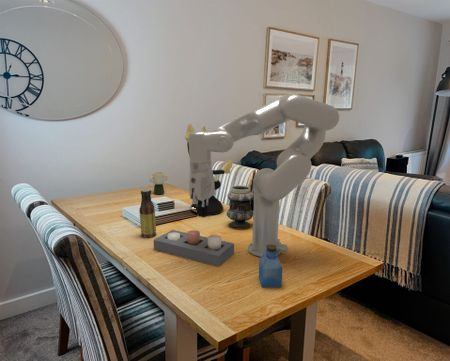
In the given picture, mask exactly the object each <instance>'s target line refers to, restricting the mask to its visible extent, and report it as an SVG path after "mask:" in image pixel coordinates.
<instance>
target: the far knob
mask: <svg viewBox="0 0 450 361" xmlns="http://www.w3.org/2000/svg"><path fill="white" fill-rule="evenodd" d="M167 238H168V239H169V240H174V241H176V240H178V239H180V234H179V233H176V232H172V233H169V234H168V235H167Z"/></svg>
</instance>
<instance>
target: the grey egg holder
mask: <svg viewBox="0 0 450 361" xmlns="http://www.w3.org/2000/svg"><path fill="white" fill-rule="evenodd" d="M172 232H176V233H179V234H180V239H178V240H176V241H174V240H169V239H168V238H167V235H168V234H169V233H172ZM153 250H154V251H156V252H161V253H164V254H168V255H172V256H177V257H181V258H184V259H188V260H191V261H196V262H200V263H203V264H207V265H211V266H215V267H218V268H219V267H220V266H221V265H222V264H223V263H225V262H226V261H227V260H228V259H229V258H230V257H232V256H233V255H234V254H235V243H234V242H229V241H225V240H221V249H219V250H218V251H215V250H211V249H208V237H207V236H202V235H200V243H199V244H198V245H196V246H195V245H190V244H187V232H184V231H180V230H175V229H172V230H170V231H167V232H165V233H163V234H162V235H160V236H158V237H156V238H155V239H153Z"/></svg>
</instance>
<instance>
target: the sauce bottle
mask: <svg viewBox="0 0 450 361" xmlns="http://www.w3.org/2000/svg"><path fill="white" fill-rule="evenodd" d="M140 194H141V201H140V202H141V203H140V206H139V211H138V213H139V220H140V221H139V224H140V225H139V226H140V233H141V236H142V237H143V238H147V239H148V238H153V237H156V235H157V224H156V223H157V222H156V210H155V204H154V202H153V201H152V190H151V189H150V188H143V189H142V188H141V189H140Z"/></svg>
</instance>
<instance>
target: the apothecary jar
mask: <svg viewBox="0 0 450 361" xmlns="http://www.w3.org/2000/svg"><path fill="white" fill-rule="evenodd" d="M226 197H227V199H228V200H229V207H228V209H227V210H226V216H227V218H228V219H230V220H232V221H231V222H230V223H229V224H228V226H229V227H230V228H231V229H235V230H246V229H249V228H250V227H251V223H249V222H248V221H250V220H251V219H253V210H252V206H251V205H252V200H254V195H253V191H251V188H250V187H249V186H247V185H239V184H238V185H232V186H231V187H230V191H229V192H228V193H227V196H226Z"/></svg>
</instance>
